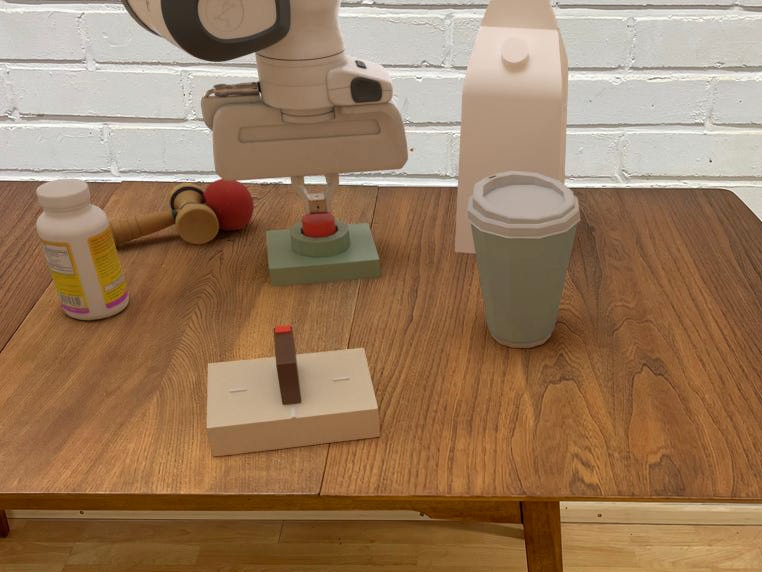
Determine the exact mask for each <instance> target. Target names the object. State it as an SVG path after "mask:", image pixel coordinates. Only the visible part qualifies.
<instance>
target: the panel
mask: <svg viewBox="0 0 762 572" xmlns="http://www.w3.org/2000/svg"><path fill="white" fill-rule="evenodd" d="M296 358H297V365H298V374H299V384H300V393H301V403H293V404H284V405H283V404H282V399H281V393H280V387H279V380H278V374H277V367H276V357H275V356H268V357H267V356H266V357H259V358H250V359H249V358H248V359H239V360H229V361H221V362H210V363H207V383H206V384H207V386H206V387H207V389H206V425H205V426H206V433H207V437H208V443H209V446H210V450H211V455H212V457H213V458H216V457H223V456H232V455H233V456H234V455H240V454H248V453H257V452H267V451H273V450H281V449H290V448H297V447H298V448H299V447H308V446H316V445H323V444H332V443H340V442H347V441H348V442H349V441H357V440H365V439H372V438H373V439H375V438H380V437H381V427H380V416H379V415H380V414H379V405H378V401H377V398H376V393H375V388H374V384H373V380H372V376H371V372H370V368H369V362H368V357H367V354H366V350H365V347H356V348H347V349H338V350H337V349H336V350H328V351H318V352H306V353H296Z"/></svg>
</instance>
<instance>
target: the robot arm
mask: <svg viewBox="0 0 762 572" xmlns="http://www.w3.org/2000/svg"><path fill="white" fill-rule="evenodd" d="M120 2H121V4H122V5H123V7H124V8H125V10H126V11H127V13H128V15H129V16H130V17H131V18H132V19H133V20H134V21H135V22H136V23H137V24H138V25H139V26H140V27H142V28H143V29H144V30H146V31H148V32H149V33H151V34H152V35H154V36H157V37H160V38H162V39H164V40H166V41H167V42H169V43H170V44H172V45H173V46H175V47H177V48H178V49H180V50H181V51H182V52H184V53H186V54H187V55H190V56H191V57H193V58H195V59H198V60H201V61H206V62H211V63H223V62H228V61H232V60H235V59H239V58H243V57H245V56H249V55H252V54H254V55H255V56H254V57H255V63H256V71H257V76H258V81H251V82H239V83H233V84H227V83H217V84H213V86H212V88H211V89H208V90H207V91H205V92H204V94H203V95H202V96H201V99H200V108H201V115H202V119H203V122H204V124H205V125H206V127H207V128H208V129H209V130H210V131H211V132H212V154H213V162H214V164H213V165H214V169H215V173H216V175H218V177H220V179H223V180H224V181H238V182H239V181H252V180H253V181H254V180H265V179H267V180H268V179H281V178H290V184H291V188H292V189H293V190H294V192H295V193H296V195H298V197H299V198H300V199H301V201H303V208H304V215H311V214H325V213H331V214H333V209H332V208H333V207H332V198H333V197H334V195H335V193H336V191H337V189H338V188H339V184H340V174H350V173H365V172H366V173H367V172H379V171H393V170H395V171H396V170H402V169H403V168H404V166H405V165H406V164H407V162H408V160H409V149H408V141H407V135H406V129H405V123H404V119H403V117H402V114H401V112H400V111H401V110H400V109H399V106H398V105H397V103H396V100H395V99H394V97H393V95H394V86H393V85H394V84H393V80H392V78H391V76H390V74H389V72H388V70H387V69H386V68H385V67H384V66H383V65H381V64H380V63H377V62H374V61H369V60H367V59H363V58H359V57H356V56H352V55H348V54H347V51H346V50H347V49H346V42H345V37H344V35H343V33H342V30H341V25H340V9H341V4H342V0H120ZM212 94H214V95H212ZM321 175H324V179H325V183H326V185H325V187H324V189H323V192H317V193H316V192H315V193H309V192H308V190H307V189H306V188H305V186H304V185H305V177H308V176H309V177H310V176H321Z"/></svg>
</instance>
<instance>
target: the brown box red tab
mask: <svg viewBox="0 0 762 572" xmlns="http://www.w3.org/2000/svg"><path fill="white" fill-rule="evenodd" d="M272 331H273V342H274V357H276V367H277V374H278V380H279V387H280V393H281V399H282V404H283V405H284V404H293V403H301V393H300V384H299V374H298V365H297V358H296V355H297V351H296V345H295V343H296V342H295V336H294V329H293V326H291V325H290V324H287V325H276V326H274V327H273V329H272Z"/></svg>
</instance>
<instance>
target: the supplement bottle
mask: <svg viewBox="0 0 762 572" xmlns="http://www.w3.org/2000/svg"><path fill="white" fill-rule="evenodd" d="M35 193H36V196H37V201H38V204H39V205H40V206H41V207H42V208H43V212H42V213H41V214H40V215H39V216H38V218H37V220H36V223H35V228H36V231H37V235H38V238H39V241H40V245H41V247H42V251H43V253H44V256H45V259H46V263H47V265H48V269H49V272H50V275H51V278H52V281H53V284H54V287H55V291H56V294H57V296H58V300H59V302H60V305H61V307H62V309H63V312H64V313H65V314H66V315H68V316H69V317H70V318H73V319H76V320H79V321H95V320H102V319H106V318H110V317H113V316H115V315H117V314H119V313H120V312H122V311H123V310H124V309H126V308H127V306H128V304H129V301H130V293H129V289H128V287H127V283H126V280H125V276H124V272H123V268H122V265H121V261H120V257H119V253H118V250H117V246H115V243H114V239H113V236H112V232H111V228H110V224H109V222H110V220H109V217H108V216H107V213H106V212H105V211H104V209H102V208H101V207H99V206H97V205H95V204H91V197H92V195H91V191H90V188H89V184H88V183H87V182H86V181H84V180H82V179H78V178H60V179H55V180H54V179H53V180H50V181H47V182H45V183H42V184H40V185H39V186H38V187H37V188H36V190H35Z"/></svg>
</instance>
